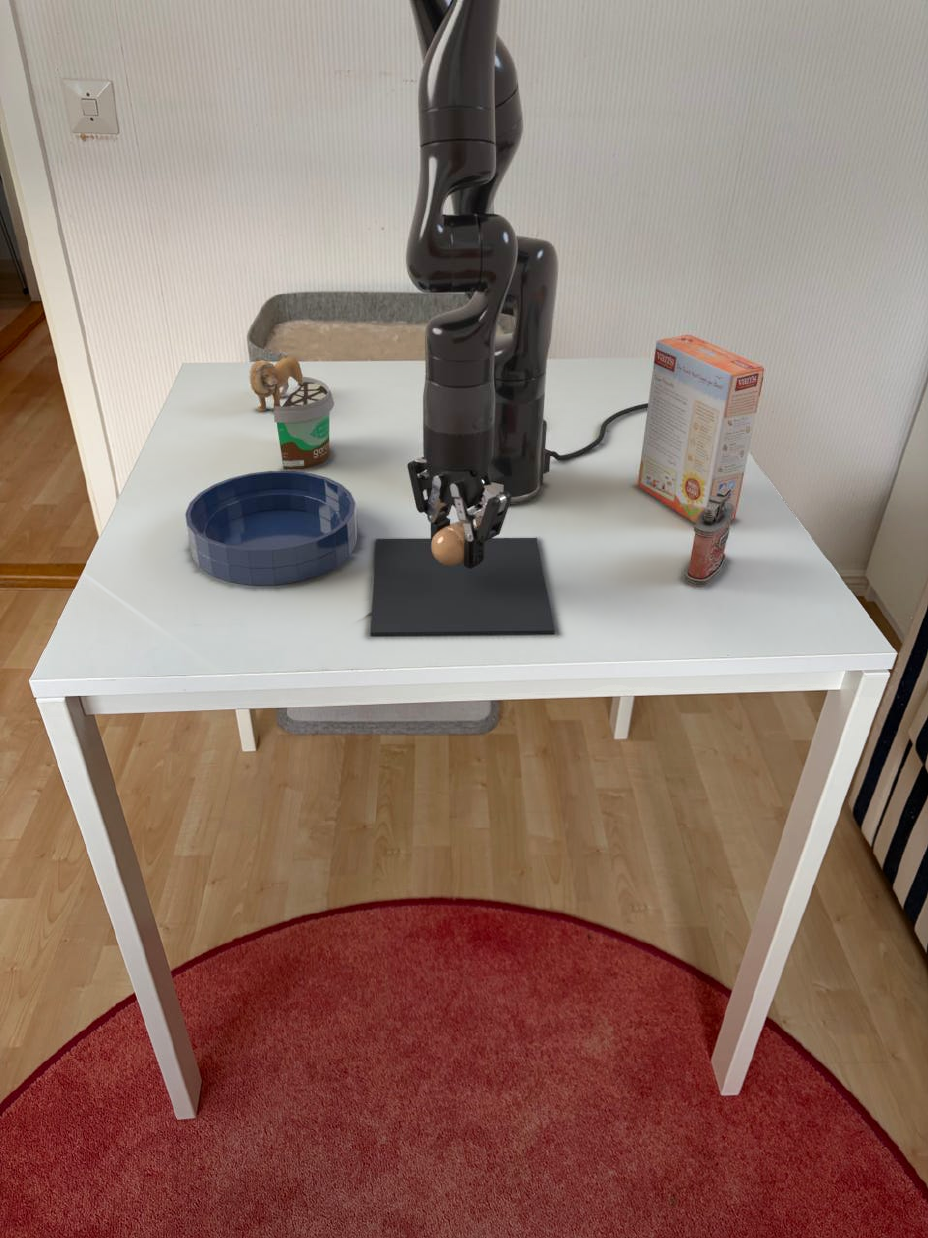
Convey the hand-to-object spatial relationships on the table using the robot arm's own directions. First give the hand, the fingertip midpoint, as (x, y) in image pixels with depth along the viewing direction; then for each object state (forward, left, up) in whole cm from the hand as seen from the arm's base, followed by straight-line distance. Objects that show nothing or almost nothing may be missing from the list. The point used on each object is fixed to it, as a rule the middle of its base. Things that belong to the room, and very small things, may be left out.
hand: (456, 556), depth 111 cm
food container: (-10, -38, -4) cm, 39 cm away
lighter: (-23, +19, -4) cm, 30 cm away
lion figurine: (-19, -57, -4) cm, 60 cm away
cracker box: (-36, +8, -4) cm, 37 cm away
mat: (0, 0, -4) cm, 4 cm away
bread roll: (0, 0, 0) cm, 0 cm away
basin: (+9, -23, -4) cm, 25 cm away
